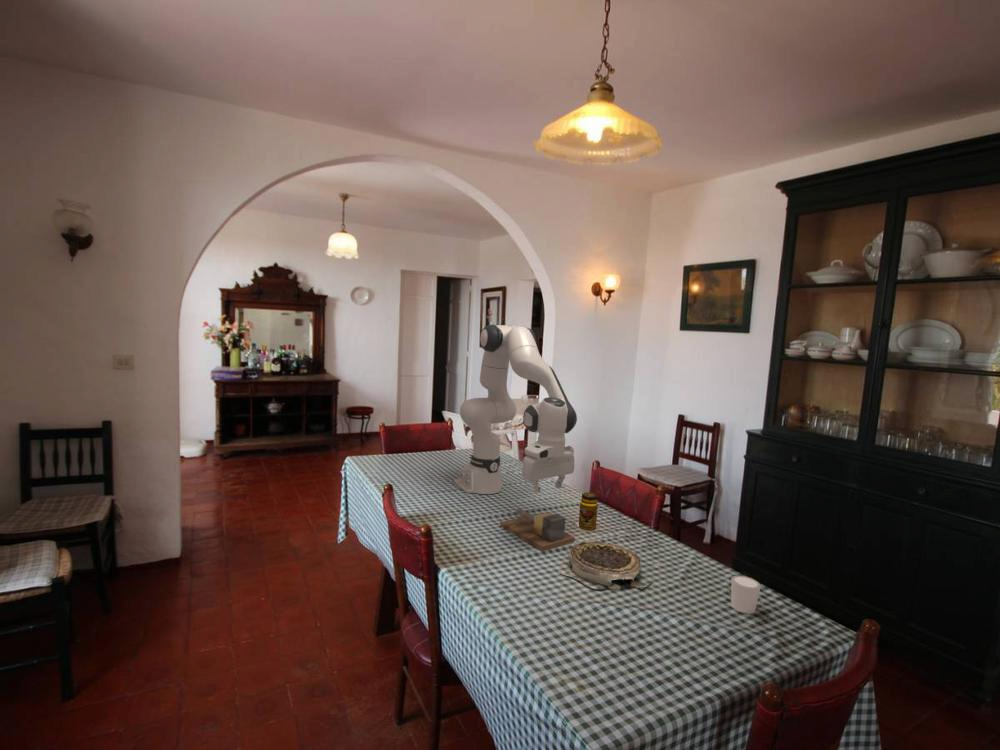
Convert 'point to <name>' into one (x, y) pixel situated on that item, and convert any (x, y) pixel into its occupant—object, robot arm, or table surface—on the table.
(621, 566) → the pie
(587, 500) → the condiment
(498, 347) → the robot arm
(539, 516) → the nut
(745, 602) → the white cup
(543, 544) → the rod board
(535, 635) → the table surface
